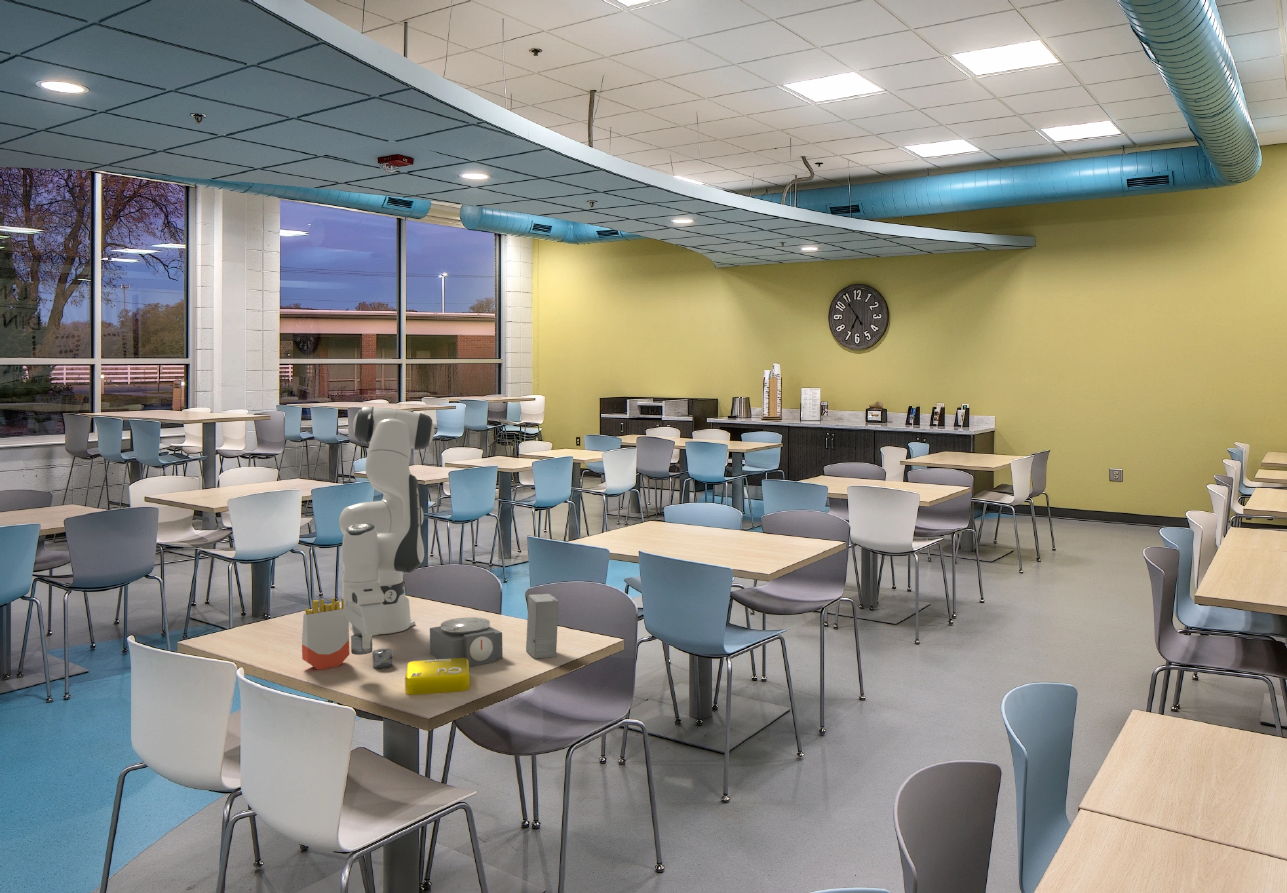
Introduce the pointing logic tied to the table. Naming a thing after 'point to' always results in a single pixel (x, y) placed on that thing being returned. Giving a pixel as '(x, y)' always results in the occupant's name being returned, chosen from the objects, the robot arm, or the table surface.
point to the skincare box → (542, 626)
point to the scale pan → (465, 625)
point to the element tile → (437, 676)
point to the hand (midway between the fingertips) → (361, 644)
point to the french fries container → (325, 635)
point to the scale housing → (467, 645)
